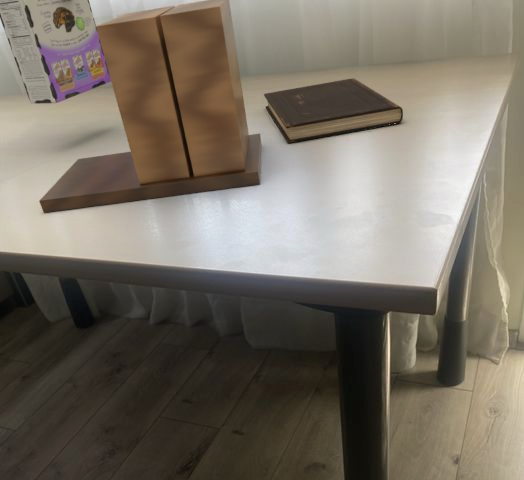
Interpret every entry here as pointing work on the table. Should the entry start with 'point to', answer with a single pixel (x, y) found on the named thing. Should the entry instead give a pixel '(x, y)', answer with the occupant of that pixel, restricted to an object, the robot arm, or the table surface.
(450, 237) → the table surface
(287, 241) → the table surface
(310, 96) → the hardcover book
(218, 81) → the split wooden block stand
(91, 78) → the candy box
